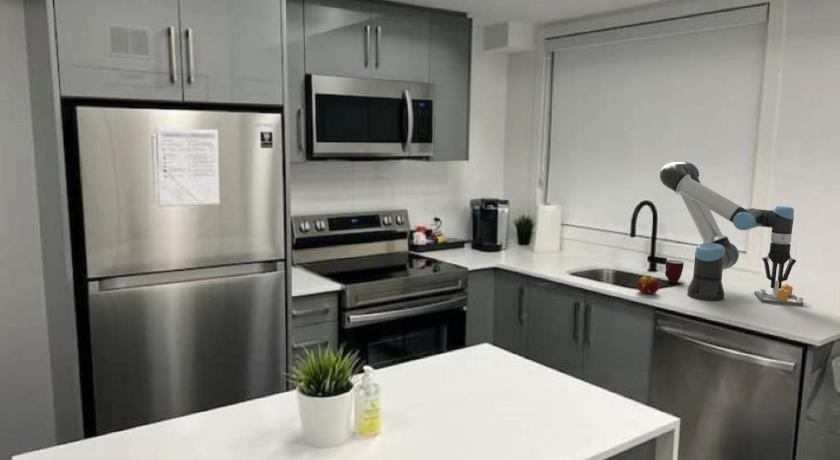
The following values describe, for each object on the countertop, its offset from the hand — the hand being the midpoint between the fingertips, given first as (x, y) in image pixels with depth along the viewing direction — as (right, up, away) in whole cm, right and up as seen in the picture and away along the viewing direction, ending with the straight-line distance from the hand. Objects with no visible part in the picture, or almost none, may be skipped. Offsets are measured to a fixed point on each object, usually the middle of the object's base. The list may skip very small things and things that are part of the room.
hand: (774, 295), depth 264 cm
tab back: (+9, 0, +7) cm, 12 cm away
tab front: (+3, -2, 0) cm, 3 cm away
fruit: (-51, -1, +12) cm, 53 cm away
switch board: (+4, -2, +4) cm, 6 cm away
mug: (-31, +3, +33) cm, 46 cm away
